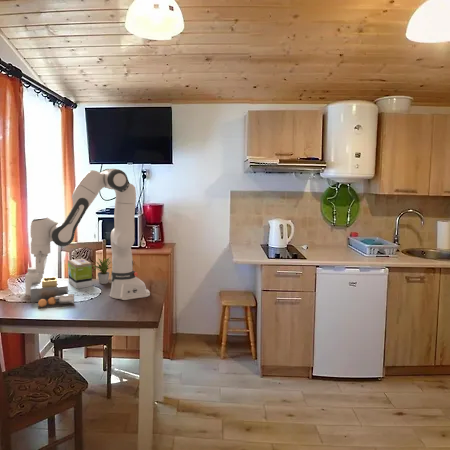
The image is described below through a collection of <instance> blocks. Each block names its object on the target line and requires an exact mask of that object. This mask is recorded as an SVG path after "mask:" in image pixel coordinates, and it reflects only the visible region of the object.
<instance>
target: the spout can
mask: <svg viewBox="0 0 450 450" xmlns="http://www.w3.org/2000/svg"><path fill="white" fill-rule="evenodd" d="M74 297H75V294H74V293H71V294H69V293H68V295H59V296H55V300H59V301H58V302H59V305H64V304H74V305H75V298H74Z"/></svg>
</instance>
